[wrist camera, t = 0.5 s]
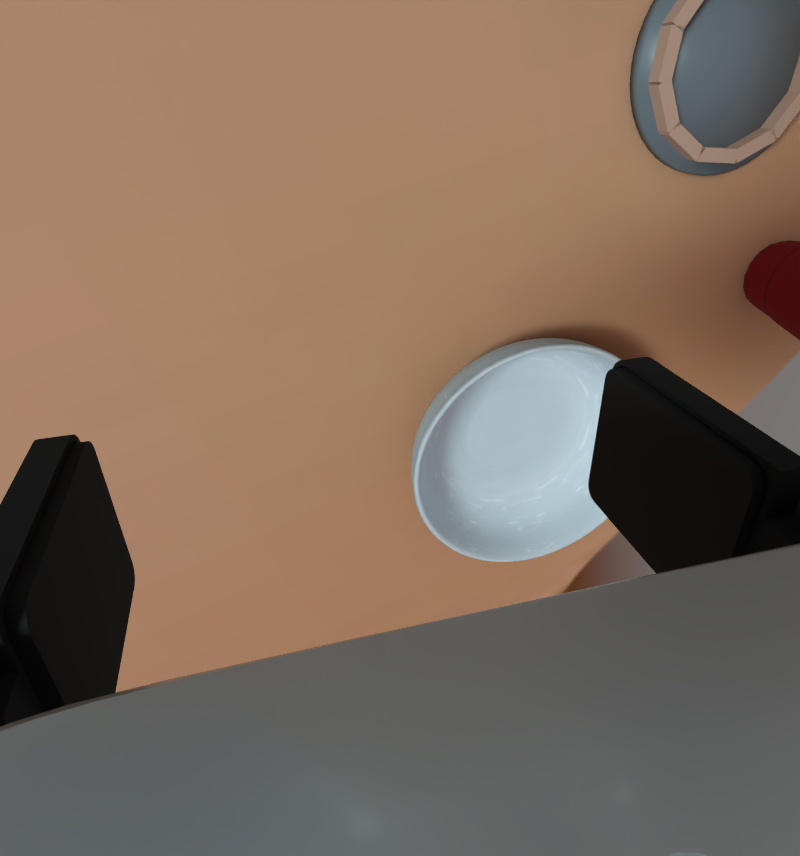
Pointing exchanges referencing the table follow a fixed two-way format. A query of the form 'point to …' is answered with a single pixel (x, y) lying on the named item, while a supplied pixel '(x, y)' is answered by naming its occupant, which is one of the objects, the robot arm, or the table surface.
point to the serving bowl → (513, 450)
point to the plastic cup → (776, 284)
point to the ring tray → (715, 80)
